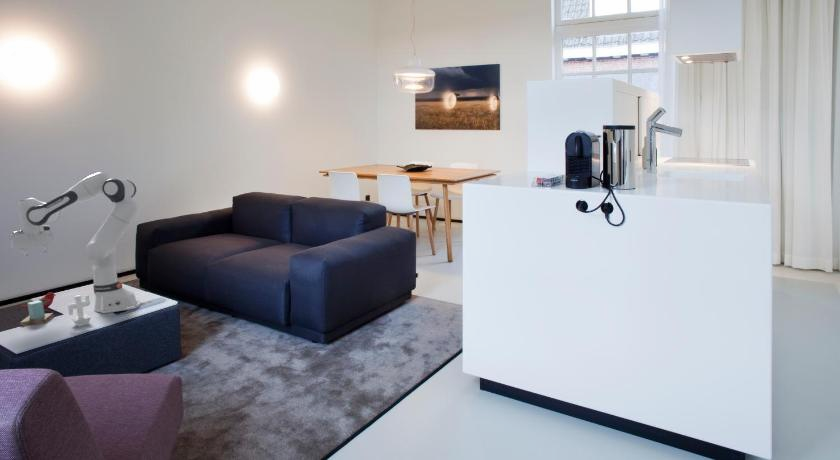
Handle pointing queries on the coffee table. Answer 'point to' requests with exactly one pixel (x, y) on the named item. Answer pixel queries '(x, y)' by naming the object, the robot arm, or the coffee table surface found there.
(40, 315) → the teal block
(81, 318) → the figurine
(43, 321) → the beige square slab
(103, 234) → the robot arm
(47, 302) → the decorative bird figurine
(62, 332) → the coffee table surface
